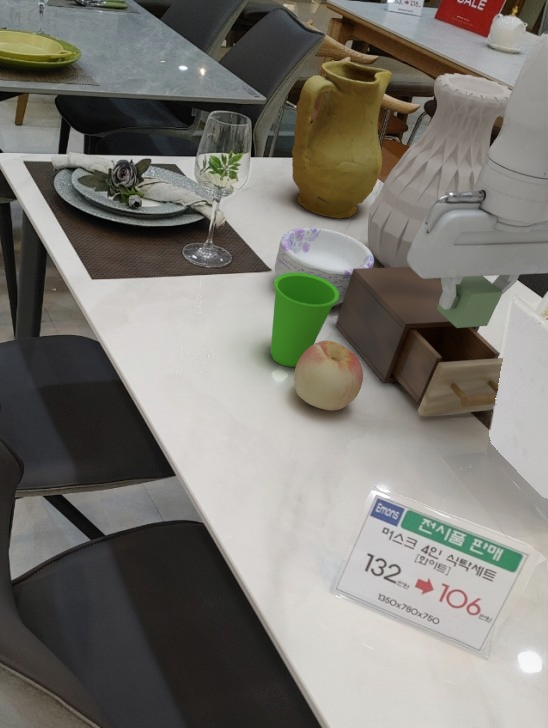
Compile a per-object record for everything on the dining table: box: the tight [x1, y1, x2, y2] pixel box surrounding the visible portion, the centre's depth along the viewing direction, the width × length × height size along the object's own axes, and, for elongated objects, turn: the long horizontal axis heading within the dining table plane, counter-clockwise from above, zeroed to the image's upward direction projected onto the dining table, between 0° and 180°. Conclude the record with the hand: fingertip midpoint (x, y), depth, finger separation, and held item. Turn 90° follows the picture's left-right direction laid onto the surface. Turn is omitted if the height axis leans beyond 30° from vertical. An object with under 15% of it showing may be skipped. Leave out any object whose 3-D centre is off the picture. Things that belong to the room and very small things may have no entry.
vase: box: [367, 72, 513, 268], centre depth 129 cm, size 20×20×30 cm
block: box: [437, 276, 503, 328], centre depth 92 cm, size 4×4×4 cm
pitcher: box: [291, 60, 393, 220], centre depth 147 cm, size 17×19×25 cm
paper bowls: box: [274, 226, 375, 307], centre depth 124 cm, size 15×15×8 cm
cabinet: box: [335, 267, 481, 384], centre depth 113 cm, size 16×13×10 cm
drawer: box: [391, 326, 504, 417], centre depth 105 cm, size 19×11×8 cm, turn 17°
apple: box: [293, 340, 364, 411], centre depth 101 cm, size 9×9×8 cm
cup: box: [270, 273, 339, 368], centre depth 108 cm, size 9×9×11 cm
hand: (467, 305), depth 93 cm, fingers closed on block, 4 cm apart
